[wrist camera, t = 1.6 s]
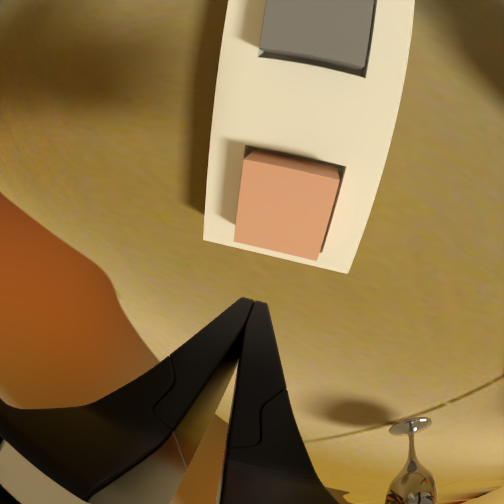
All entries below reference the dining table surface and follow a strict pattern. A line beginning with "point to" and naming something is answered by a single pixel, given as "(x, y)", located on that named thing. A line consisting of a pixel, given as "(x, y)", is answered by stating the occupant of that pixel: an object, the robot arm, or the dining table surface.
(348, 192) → the cream block puzzle board
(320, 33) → the charcoal key
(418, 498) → the wine glass
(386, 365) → the dining table surface
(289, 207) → the terracotta key
